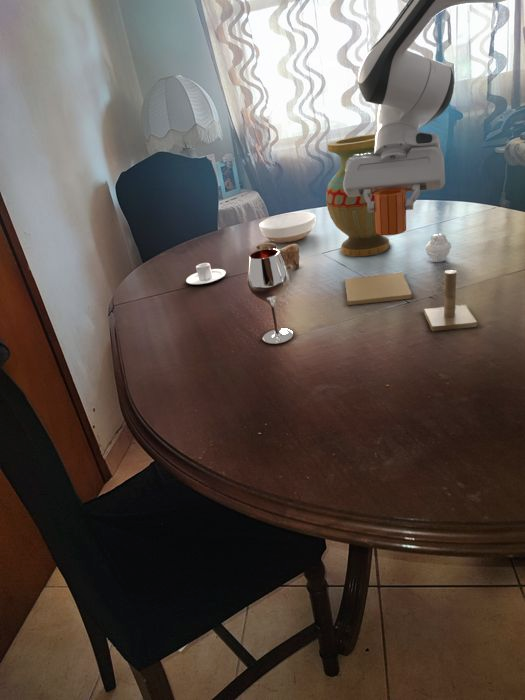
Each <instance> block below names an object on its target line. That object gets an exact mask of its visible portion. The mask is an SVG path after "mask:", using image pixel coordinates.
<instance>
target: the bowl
mask: <svg viewBox="0 0 525 700" xmlns="http://www.w3.org/2000/svg"><path fill="white" fill-rule="evenodd" d="M316 218H317V217H316V214H315V213H312V212H307V211H306V212H305V211H299V212H297V211H296V212H289V213H283V214H282V213H281V214H278V215H274V216H271V217H268V218H266V219H264V220H262V221H260V223H259V225H258V227H259V230H260V232H261V234H262V236H263V237H265V238H266V239H268V240H270V241H273V242H275V243H282V244H285V243H292V242H296V241H299V240H302V239H304V238H306V236H307V235H308V234H310V233H311V232H312V230H313V229H314V228H315V225H316V222H317V221H316V220H317V219H316Z"/></svg>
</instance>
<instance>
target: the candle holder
mask: <svg viewBox="0 0 525 700" xmlns="http://www.w3.org/2000/svg"><path fill="white" fill-rule="evenodd" d="M211 267H212V266H211V264H210V263H209V262H202V263H198V264H197V265H196V266H195V269H196V272H195V273H193V274H190V275H189V276H187V278H186V279H185V282H186V283H187V284H189V285H204V284H205V285H206V284H209V283H210V284H211V283H213V282H215V281H219V280H220V279H222V278H223V277H225V276H226V274H227V272H226V270H224V269H221V268H211Z"/></svg>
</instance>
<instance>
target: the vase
mask: <svg viewBox="0 0 525 700" xmlns="http://www.w3.org/2000/svg"><path fill="white" fill-rule="evenodd" d="M375 138H376V133H370V134H363V135H356V136H350V137H346V138H341V139H337V140H334V141H330V142H328V143H327V152H329V153H332V154H335V155H337V156H338V157H339V159H340V167H339V170H338V171H336V173H335V175H334V176H332V178H331V179H330V181H329V182H328V184H327V187H326V191H325V192H326V193H325V201H326V205H327V206H326V207H327V212H328V215H329V216H330V217H329V218H330V219H331V220H332V222H333V224H334V225H335V227H336V228H337V229H338V230H339V231H341V232H342V233H344V234H345V235H346V236H348V238H347V239H346V240H344V241H343V242H342V243H341V246H340V247H341V253H342V254H343V255H346V256H348V257H369V256H374V255H378V254H381V253H384V252H386V251H387V250H388V249H390V239H389V238H388V237H387V236H385V235H379V234H377V233H376V220H375V212H371V213H368V210H367V206H368V204H367V202H366V200H365V198H364V196H356V197H348V196H347V194H346V193H345V191H344V188H343V182H344V177H345V173H346V172H345V166H346V161H347V160H348V159H350V158H351V157H353V156H354V155H358V154H359V155H362V154H366V153H374V147H375ZM370 200H371V201H375V198H374V195H372V198H371V199H370Z"/></svg>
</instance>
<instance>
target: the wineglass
mask: <svg viewBox="0 0 525 700" xmlns="http://www.w3.org/2000/svg"><path fill="white" fill-rule="evenodd" d="M248 257H249V258H248V267H247V268H248V269H247V285H248V289H249V290H250V291H251V293H252V295H254V296H255V297H256V298H257V299H259V300H261V301H262V302H265V303H267V304H268V305H269V307H270V308H271V313H272V320H273V325H274V329H272V330H270V331H268V332H265V333H264V335H263V336H262V340H263V342H264V343H266V344H268V345H281V344H284V343H287V342H288V341H290V340H291V339H292V338H294V331H292V330H290V329H288V328H280V326H279V322H278V321H279V320H278V315H277V310H276V309H277V308H276V305H277V302H278V301H279V300H280V299H281V298H282V297H283V296H284V295H285V293H286V292H287V290H288V288H289V286H290V282H291V281H290V279H291V278H290V275H289V271H288V268H286V266H285V264H284V261H283V259H282V257H281V255H280V252H279V251H278V250H277V248H276V249H264V250H260V251H259V250H257V251H254V252H252V253H251V254H250V255H248Z"/></svg>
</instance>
